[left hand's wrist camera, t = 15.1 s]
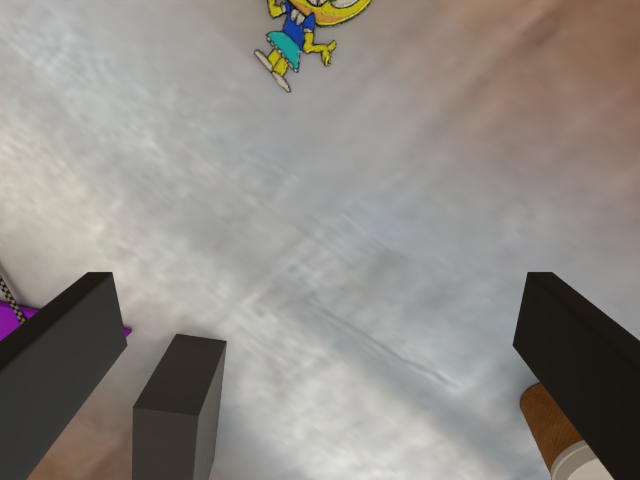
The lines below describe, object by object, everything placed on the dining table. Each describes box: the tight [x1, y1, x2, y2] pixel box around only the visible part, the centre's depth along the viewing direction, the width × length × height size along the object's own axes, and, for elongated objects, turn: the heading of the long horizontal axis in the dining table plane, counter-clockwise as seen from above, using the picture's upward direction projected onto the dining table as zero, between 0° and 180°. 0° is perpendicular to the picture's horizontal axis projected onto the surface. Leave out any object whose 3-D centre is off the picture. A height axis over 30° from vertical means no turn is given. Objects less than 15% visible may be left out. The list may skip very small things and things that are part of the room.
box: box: [132, 334, 227, 480], centre depth 47 cm, size 20×6×12 cm, turn 170°
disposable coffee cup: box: [520, 384, 614, 480], centre depth 47 cm, size 10×10×12 cm
